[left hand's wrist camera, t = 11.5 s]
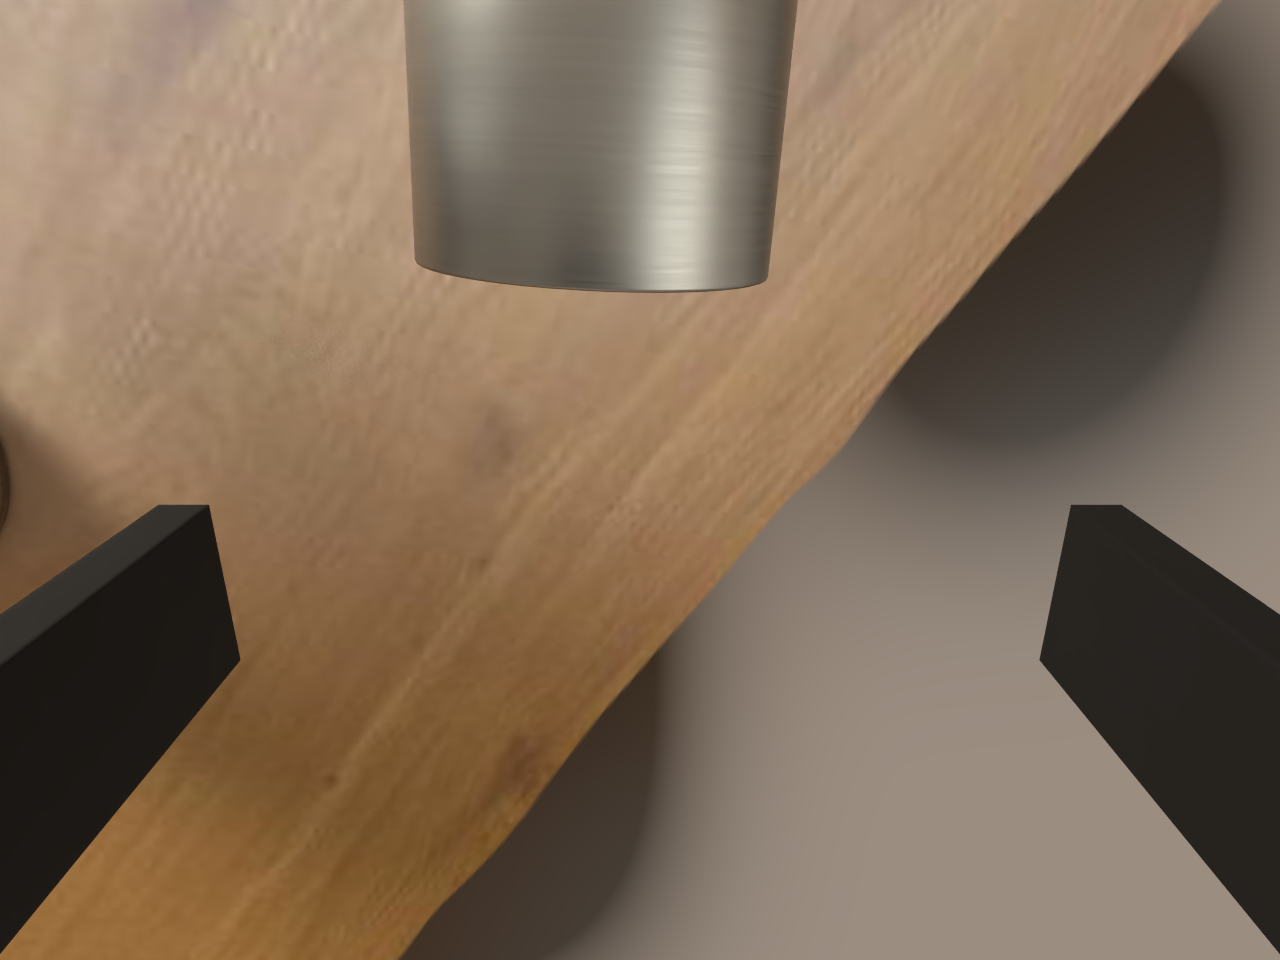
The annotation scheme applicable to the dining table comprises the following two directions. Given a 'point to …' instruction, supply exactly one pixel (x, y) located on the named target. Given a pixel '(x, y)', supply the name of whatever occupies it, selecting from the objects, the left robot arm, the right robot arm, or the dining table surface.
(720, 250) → the rod
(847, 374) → the dining table surface
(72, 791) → the left robot arm
